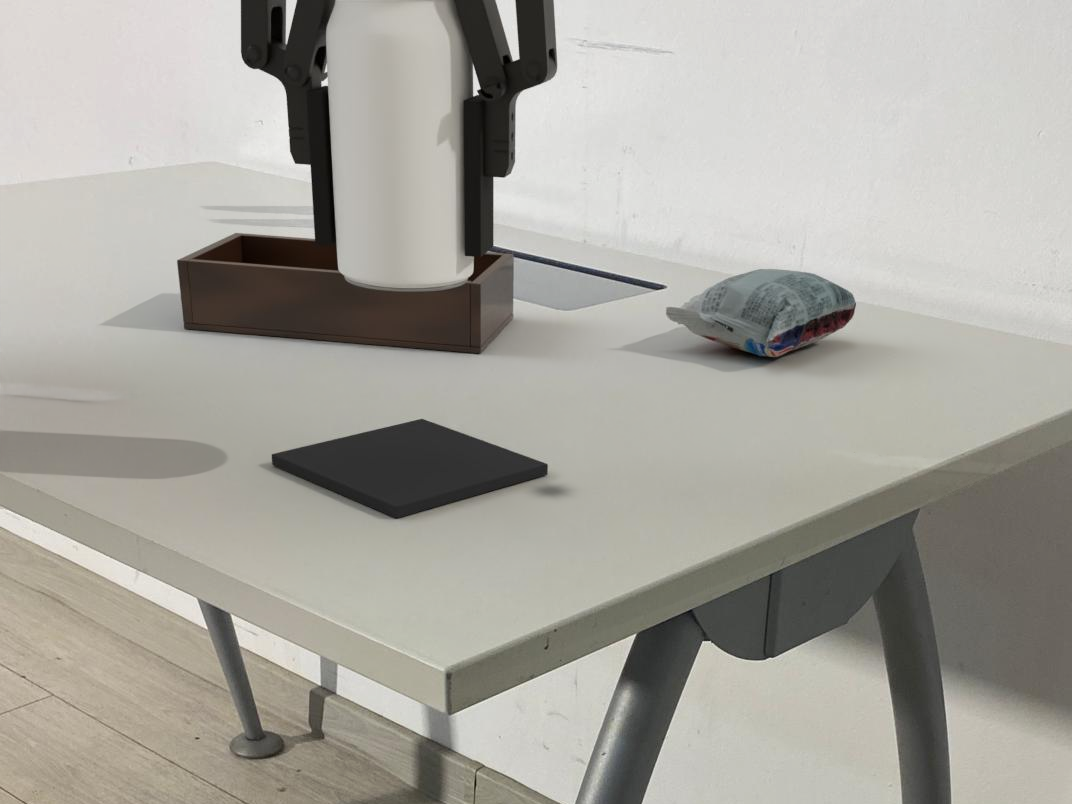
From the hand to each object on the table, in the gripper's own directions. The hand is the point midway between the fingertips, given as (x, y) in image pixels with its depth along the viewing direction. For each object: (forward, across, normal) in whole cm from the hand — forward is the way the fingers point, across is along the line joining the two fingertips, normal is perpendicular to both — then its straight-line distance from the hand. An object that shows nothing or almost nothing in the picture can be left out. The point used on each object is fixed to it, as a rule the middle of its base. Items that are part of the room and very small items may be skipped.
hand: (405, 244), depth 68 cm
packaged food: (+11, -16, -32) cm, 37 cm away
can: (+2, 0, 0) cm, 2 cm away
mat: (+11, 0, 0) cm, 11 cm away
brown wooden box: (+11, +12, -29) cm, 33 cm away
